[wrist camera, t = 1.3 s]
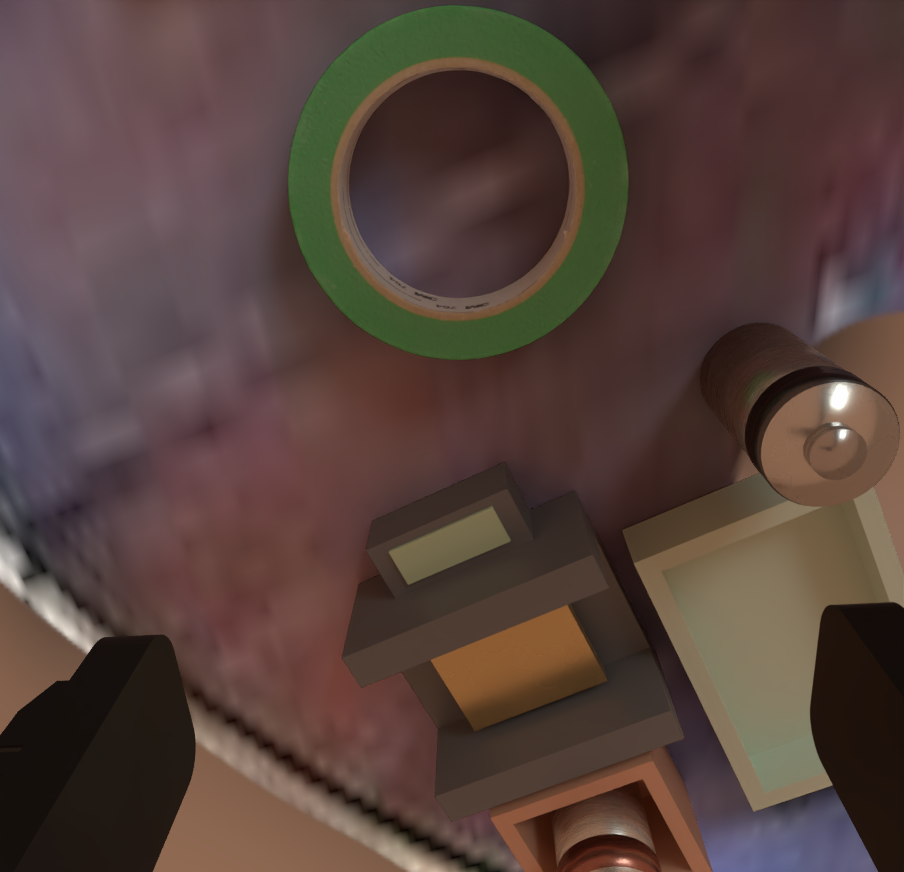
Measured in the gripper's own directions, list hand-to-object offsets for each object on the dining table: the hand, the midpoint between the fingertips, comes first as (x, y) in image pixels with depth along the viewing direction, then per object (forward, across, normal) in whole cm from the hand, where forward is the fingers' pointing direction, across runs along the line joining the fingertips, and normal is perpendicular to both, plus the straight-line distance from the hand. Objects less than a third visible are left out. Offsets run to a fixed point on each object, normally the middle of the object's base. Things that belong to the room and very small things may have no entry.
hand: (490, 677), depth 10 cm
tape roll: (+22, 0, -4) cm, 22 cm away
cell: (+21, -10, +4) cm, 24 cm away
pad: (+19, 0, +14) cm, 24 cm away
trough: (+21, -12, +15) cm, 28 cm away
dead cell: (+20, -4, +22) cm, 30 cm away
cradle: (+21, 0, +13) cm, 25 cm away
